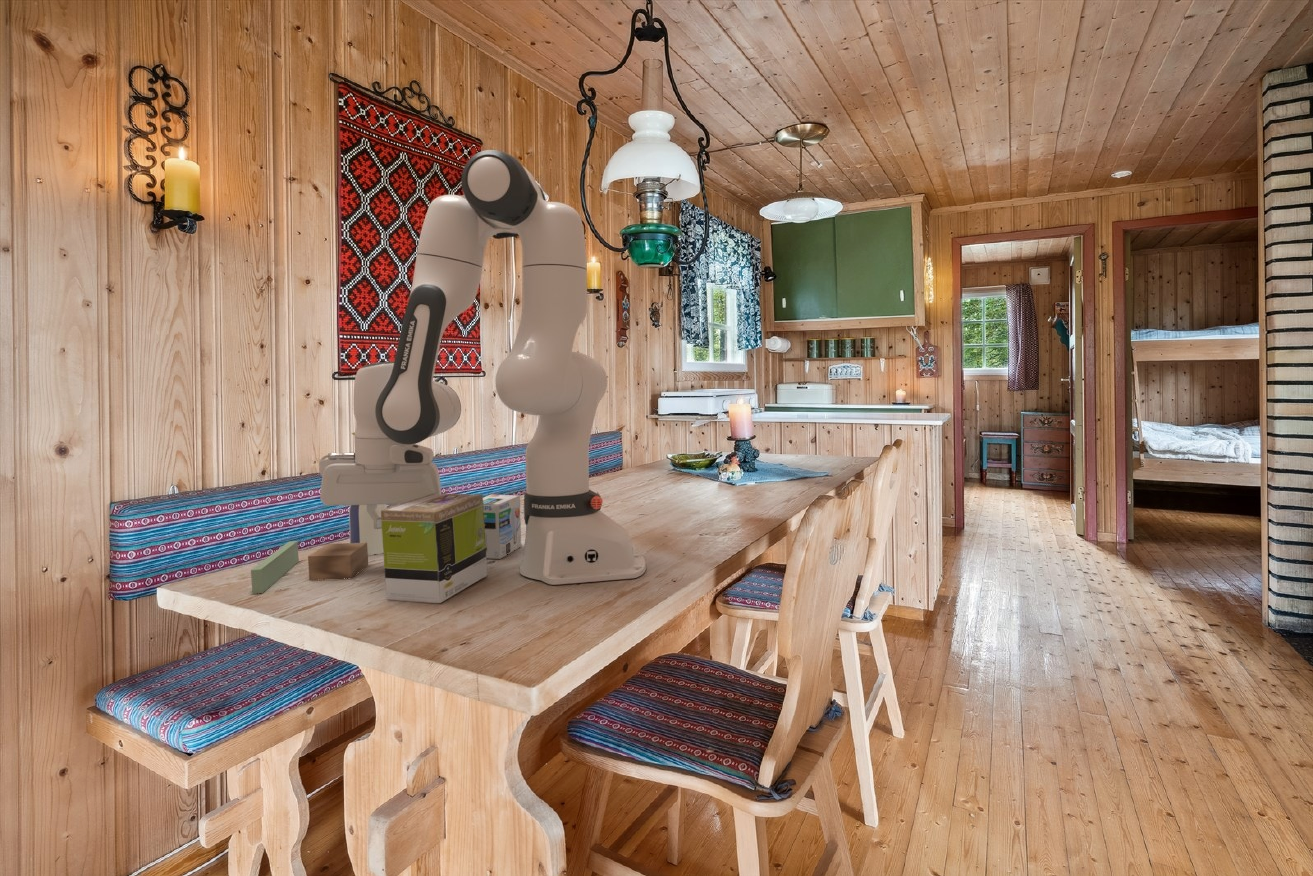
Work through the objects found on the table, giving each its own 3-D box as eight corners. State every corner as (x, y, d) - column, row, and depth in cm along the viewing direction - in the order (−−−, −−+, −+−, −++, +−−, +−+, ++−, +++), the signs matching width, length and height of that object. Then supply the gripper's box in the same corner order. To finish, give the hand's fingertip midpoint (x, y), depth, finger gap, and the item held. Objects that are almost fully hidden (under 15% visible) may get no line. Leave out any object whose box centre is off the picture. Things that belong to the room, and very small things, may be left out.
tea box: (437, 574, 121) (434, 491, 120) (488, 577, 119) (485, 493, 118) (383, 600, 107) (378, 507, 106) (440, 605, 104) (436, 509, 103)
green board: (298, 561, 131) (297, 541, 130) (262, 593, 111) (260, 569, 111) (290, 562, 130) (288, 541, 130) (252, 594, 111) (250, 570, 111)
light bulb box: (500, 560, 130) (498, 504, 129) (468, 558, 132) (465, 503, 131) (522, 546, 141) (521, 494, 140) (492, 545, 142) (490, 493, 141)
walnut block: (368, 566, 128) (367, 542, 127) (351, 580, 119) (349, 555, 119) (329, 567, 127) (328, 543, 127) (309, 581, 118) (307, 556, 118)
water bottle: (336, 553, 136) (330, 428, 134) (373, 544, 144) (367, 425, 142) (364, 558, 132) (357, 429, 130) (400, 548, 140) (394, 426, 137)
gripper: (313, 455, 118) (316, 534, 119) (438, 454, 122) (439, 530, 123) (323, 450, 124) (325, 525, 125) (441, 450, 128) (442, 522, 130)
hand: (383, 528), depth 124 cm, fingers closed
